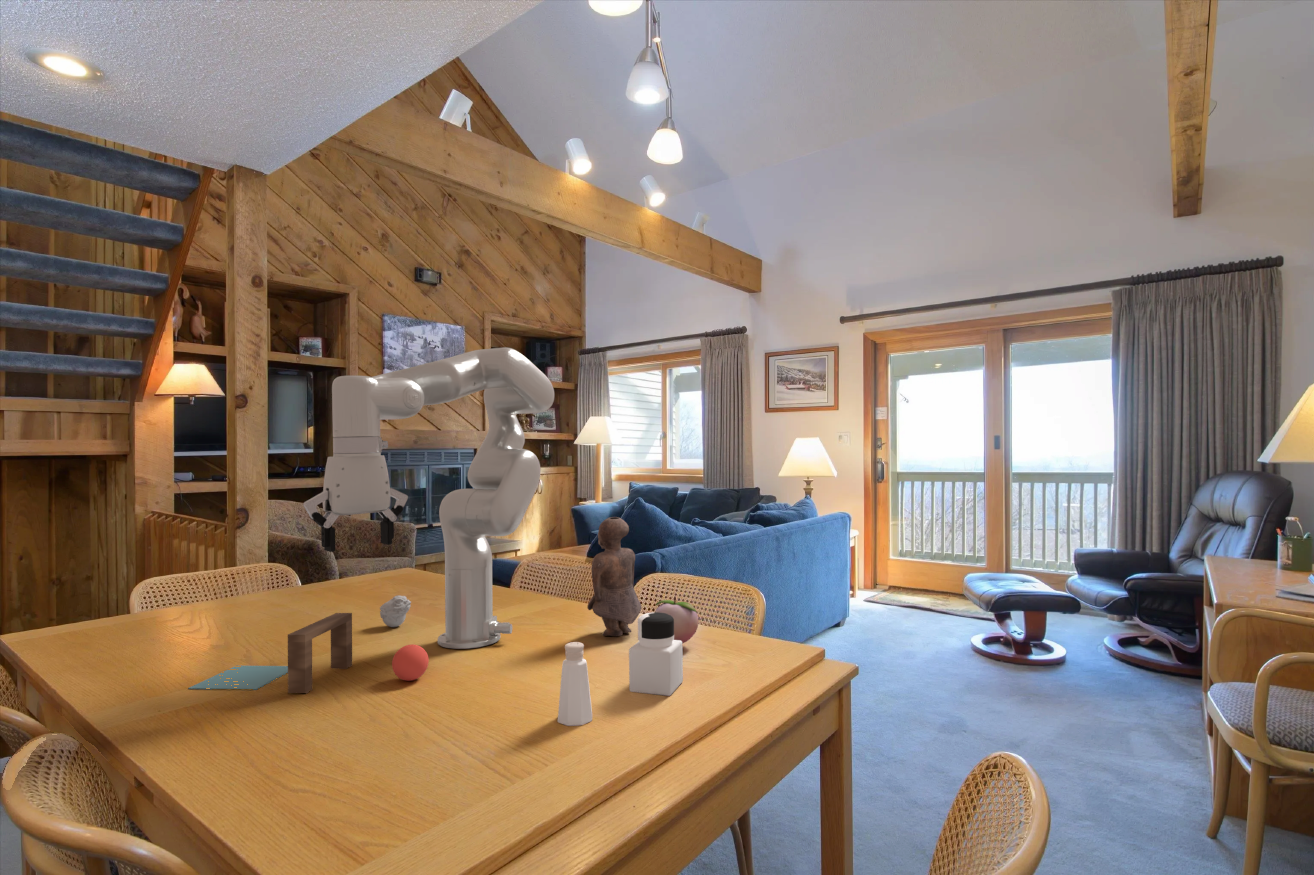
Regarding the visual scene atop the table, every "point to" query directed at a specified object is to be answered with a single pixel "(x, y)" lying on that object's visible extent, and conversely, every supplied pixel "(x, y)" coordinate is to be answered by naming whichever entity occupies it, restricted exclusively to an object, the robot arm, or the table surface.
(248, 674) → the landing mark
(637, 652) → the medicine bottle
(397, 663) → the ball
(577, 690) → the pepper shaker
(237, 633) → the table surface
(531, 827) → the table surface
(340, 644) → the bridge
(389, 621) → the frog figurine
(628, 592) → the clay figurine
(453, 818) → the table surface
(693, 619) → the decorative fruit
